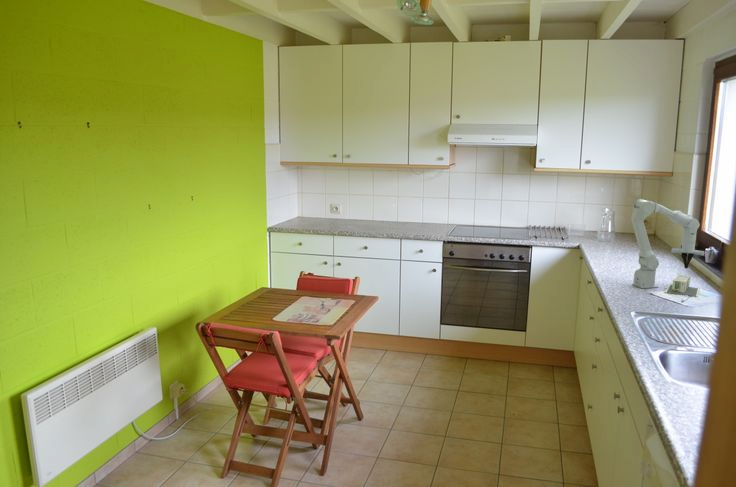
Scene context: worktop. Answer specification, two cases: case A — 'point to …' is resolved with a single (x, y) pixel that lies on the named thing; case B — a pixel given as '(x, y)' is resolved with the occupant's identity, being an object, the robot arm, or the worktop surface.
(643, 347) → the worktop surface
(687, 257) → the robot arm
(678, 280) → the syrup box
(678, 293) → the mat
